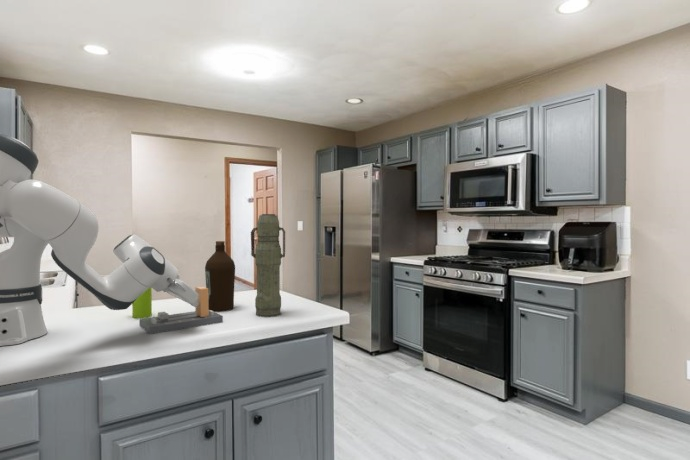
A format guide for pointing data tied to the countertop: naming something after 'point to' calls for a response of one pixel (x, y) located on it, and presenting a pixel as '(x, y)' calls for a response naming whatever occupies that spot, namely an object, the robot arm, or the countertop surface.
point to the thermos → (268, 265)
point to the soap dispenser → (143, 305)
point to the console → (177, 321)
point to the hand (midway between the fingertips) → (196, 304)
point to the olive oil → (220, 279)
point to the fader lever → (202, 302)
